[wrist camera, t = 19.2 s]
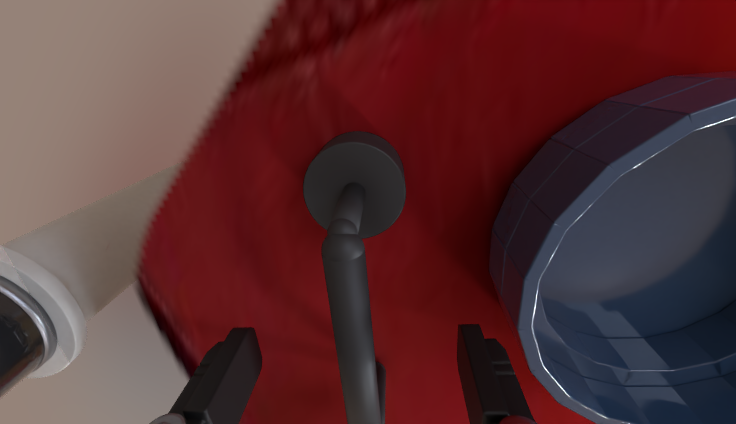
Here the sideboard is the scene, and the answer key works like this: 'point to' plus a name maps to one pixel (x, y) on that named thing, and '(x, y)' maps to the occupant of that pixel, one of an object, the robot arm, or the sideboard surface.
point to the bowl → (629, 256)
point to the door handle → (354, 253)
